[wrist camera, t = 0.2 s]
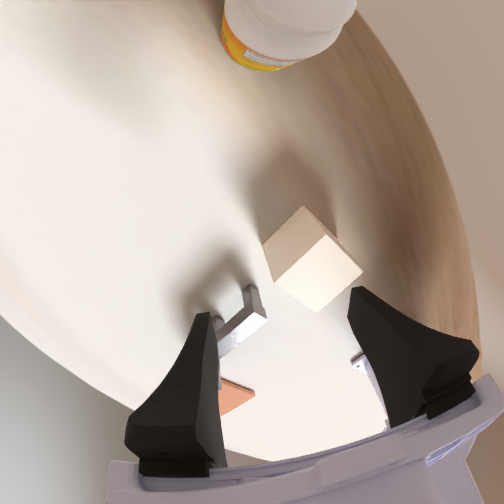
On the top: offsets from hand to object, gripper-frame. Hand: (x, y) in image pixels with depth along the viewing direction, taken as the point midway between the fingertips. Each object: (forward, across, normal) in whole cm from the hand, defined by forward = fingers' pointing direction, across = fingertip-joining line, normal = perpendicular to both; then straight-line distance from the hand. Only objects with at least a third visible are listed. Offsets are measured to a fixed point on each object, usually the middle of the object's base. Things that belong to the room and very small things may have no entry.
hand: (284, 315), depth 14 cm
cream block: (+9, -3, +1) cm, 10 cm away
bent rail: (+9, +4, +10) cm, 14 cm away
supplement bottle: (+9, -2, -14) cm, 17 cm away
